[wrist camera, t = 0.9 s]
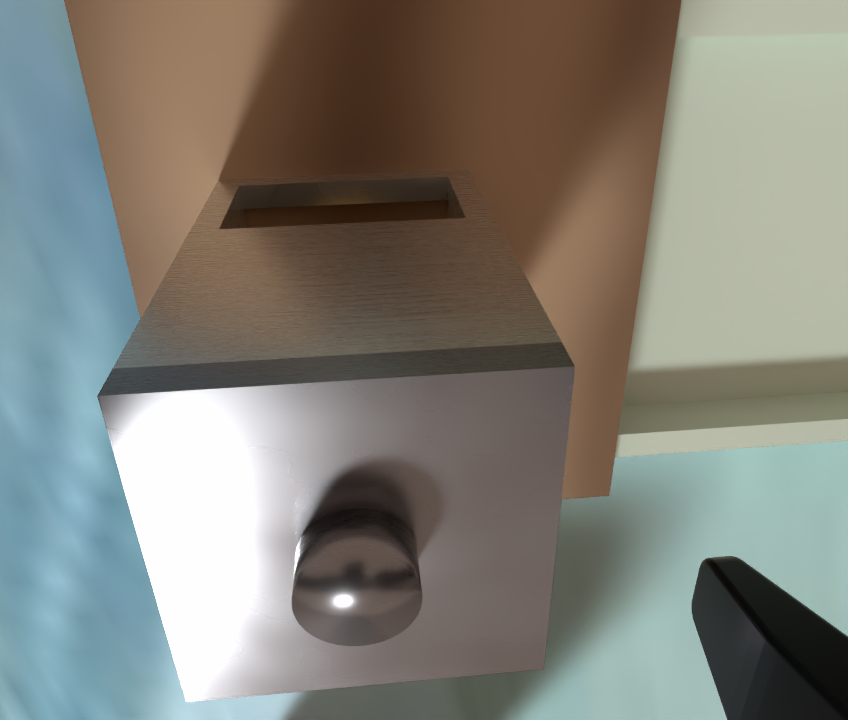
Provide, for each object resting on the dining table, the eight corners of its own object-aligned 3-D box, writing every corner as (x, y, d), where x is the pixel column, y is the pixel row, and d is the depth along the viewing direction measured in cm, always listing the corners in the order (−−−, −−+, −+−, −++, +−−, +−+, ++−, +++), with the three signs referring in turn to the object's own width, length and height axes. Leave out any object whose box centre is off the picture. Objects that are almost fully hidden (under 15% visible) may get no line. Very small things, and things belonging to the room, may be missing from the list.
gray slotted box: (467, 169, 16) (595, 404, 8) (464, 379, 18) (556, 717, 10) (218, 179, 15) (74, 439, 7) (252, 392, 18) (175, 754, 10)
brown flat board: (643, -60, 16) (689, -61, 14) (584, 444, 23) (608, 495, 21) (94, -50, 15) (52, -49, 13) (205, 470, 22) (189, 527, 20)
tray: (1080, -20, 17) (1160, -16, 16) (917, 396, 23) (963, 432, 22) (638, -10, 17) (671, -5, 15) (587, 418, 23) (607, 457, 21)
